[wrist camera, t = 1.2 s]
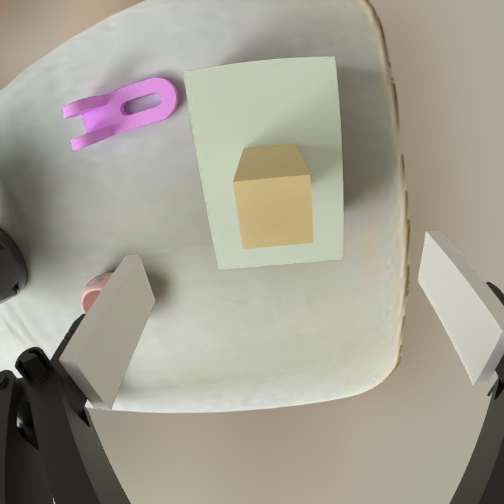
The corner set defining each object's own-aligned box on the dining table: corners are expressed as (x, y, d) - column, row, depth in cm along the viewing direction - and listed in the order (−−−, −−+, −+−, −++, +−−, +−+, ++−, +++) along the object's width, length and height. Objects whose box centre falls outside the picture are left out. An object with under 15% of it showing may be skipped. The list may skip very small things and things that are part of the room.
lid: (221, 257, 35) (203, 337, 24) (189, 73, 25) (140, 67, 15) (338, 247, 34) (366, 324, 23) (329, 58, 24) (372, 42, 13)
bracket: (94, 141, 37) (67, 153, 31) (85, 103, 34) (56, 110, 28) (183, 114, 35) (166, 121, 29) (173, 72, 32) (155, 70, 26)
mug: (115, 318, 52) (104, 341, 47) (83, 275, 48) (68, 296, 42) (168, 301, 49) (159, 326, 44) (135, 252, 45) (121, 274, 40)
